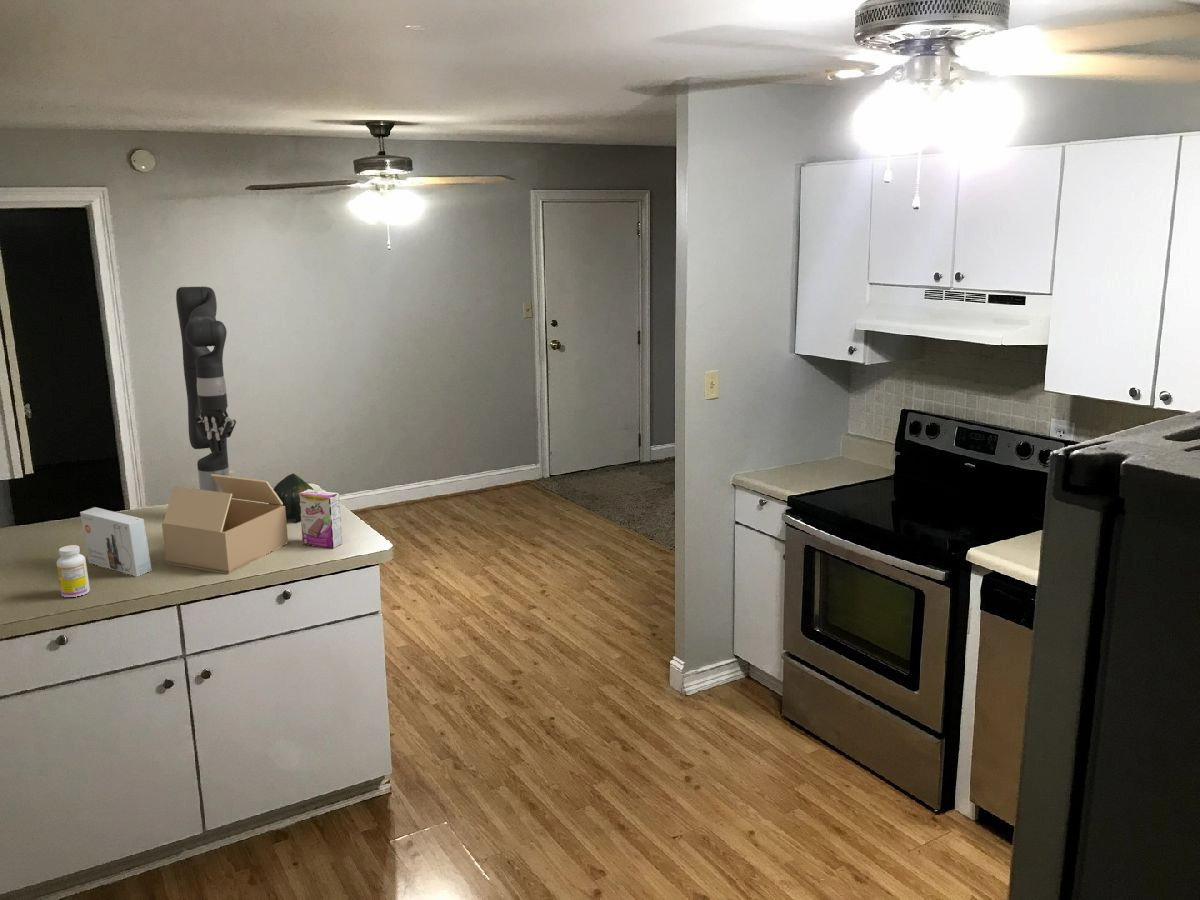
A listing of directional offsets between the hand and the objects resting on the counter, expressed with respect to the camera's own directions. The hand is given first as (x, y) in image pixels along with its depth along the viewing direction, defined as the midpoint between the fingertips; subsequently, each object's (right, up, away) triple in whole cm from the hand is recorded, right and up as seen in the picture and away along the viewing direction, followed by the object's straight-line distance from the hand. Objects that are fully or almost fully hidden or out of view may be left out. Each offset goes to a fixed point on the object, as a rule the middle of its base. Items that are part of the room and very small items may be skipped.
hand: (217, 451), depth 269 cm
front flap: (-3, -16, -5) cm, 17 cm away
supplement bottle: (-29, -38, -21) cm, 52 cm away
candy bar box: (+25, -28, +16) cm, 41 cm away
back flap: (+3, -12, +13) cm, 18 cm away
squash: (+9, -22, +40) cm, 47 cm away
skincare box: (-27, -33, -3) cm, 43 cm away
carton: (0, -30, +8) cm, 31 cm away
